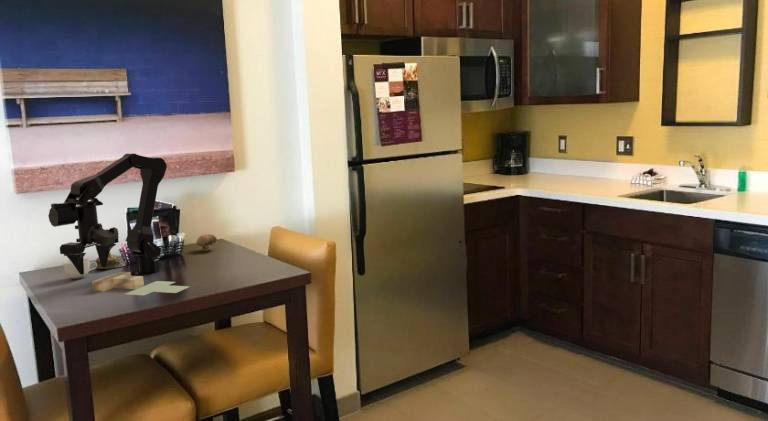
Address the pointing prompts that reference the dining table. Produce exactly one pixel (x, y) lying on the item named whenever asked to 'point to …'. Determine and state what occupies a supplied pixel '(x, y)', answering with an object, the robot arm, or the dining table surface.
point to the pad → (157, 288)
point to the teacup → (73, 272)
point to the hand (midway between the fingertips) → (93, 270)
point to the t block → (118, 282)
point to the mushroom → (206, 241)
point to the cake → (110, 262)
